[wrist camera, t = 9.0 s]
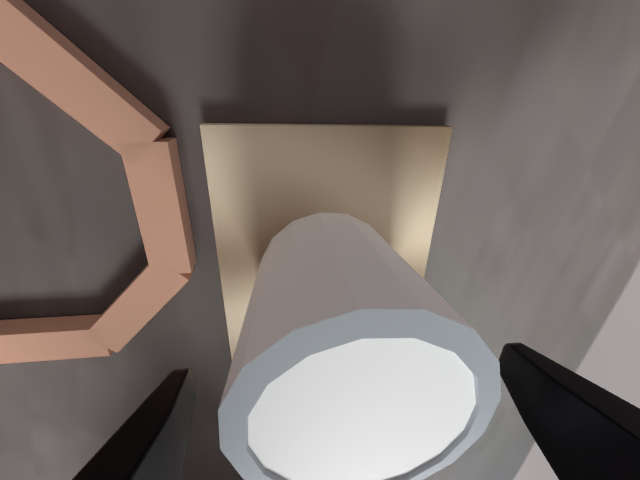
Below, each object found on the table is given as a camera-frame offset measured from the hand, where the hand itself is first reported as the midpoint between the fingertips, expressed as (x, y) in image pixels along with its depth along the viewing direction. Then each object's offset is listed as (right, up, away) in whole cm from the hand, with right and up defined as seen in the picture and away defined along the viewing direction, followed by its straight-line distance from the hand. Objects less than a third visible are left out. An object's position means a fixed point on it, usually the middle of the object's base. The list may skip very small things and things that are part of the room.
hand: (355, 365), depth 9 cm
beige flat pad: (-1, +2, +5) cm, 6 cm away
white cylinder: (-1, +2, +5) cm, 6 cm away
